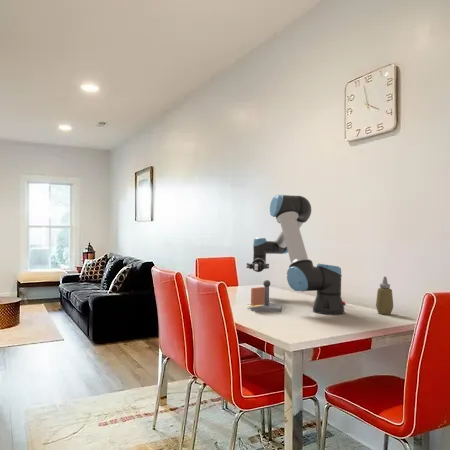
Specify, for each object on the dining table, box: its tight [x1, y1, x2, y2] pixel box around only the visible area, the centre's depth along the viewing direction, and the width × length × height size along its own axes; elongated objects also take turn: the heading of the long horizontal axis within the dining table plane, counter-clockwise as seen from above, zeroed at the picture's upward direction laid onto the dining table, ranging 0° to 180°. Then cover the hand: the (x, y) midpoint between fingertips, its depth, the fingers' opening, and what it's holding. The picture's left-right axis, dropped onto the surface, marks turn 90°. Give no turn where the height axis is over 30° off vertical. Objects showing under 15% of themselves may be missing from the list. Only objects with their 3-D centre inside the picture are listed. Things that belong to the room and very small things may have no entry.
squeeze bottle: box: [375, 276, 394, 315], centre depth 209 cm, size 8×8×18 cm
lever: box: [250, 279, 271, 306], centre depth 213 cm, size 12×4×12 cm, turn 133°
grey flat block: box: [246, 302, 281, 313], centre depth 216 cm, size 17×14×2 cm
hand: (255, 267), depth 224 cm, fingers closed
